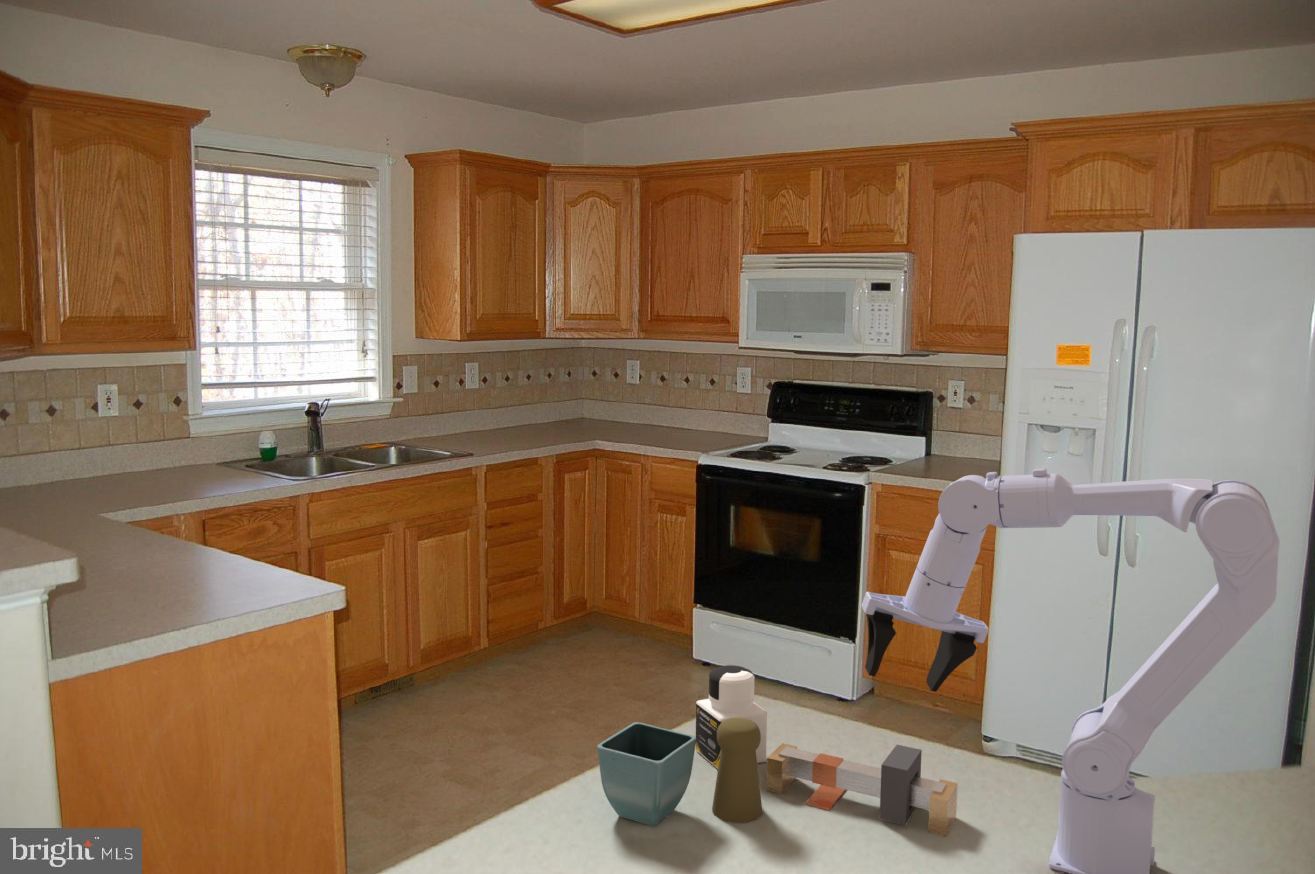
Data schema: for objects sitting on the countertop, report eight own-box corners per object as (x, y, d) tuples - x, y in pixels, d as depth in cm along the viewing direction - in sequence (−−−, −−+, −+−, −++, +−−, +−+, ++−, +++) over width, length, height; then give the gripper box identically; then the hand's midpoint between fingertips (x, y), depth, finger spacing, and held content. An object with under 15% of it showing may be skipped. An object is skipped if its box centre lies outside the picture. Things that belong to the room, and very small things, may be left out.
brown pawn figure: (760, 825, 113) (762, 734, 112) (708, 819, 114) (709, 729, 113) (765, 801, 119) (767, 713, 117) (715, 795, 120) (717, 709, 119)
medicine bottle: (694, 750, 133) (695, 665, 131) (740, 741, 136) (741, 658, 134) (719, 772, 126) (721, 682, 125) (767, 762, 129) (769, 674, 128)
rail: (958, 813, 116) (959, 776, 115) (944, 840, 110) (945, 801, 109) (784, 771, 127) (785, 737, 126) (763, 793, 121) (764, 757, 120)
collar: (919, 802, 118) (921, 749, 117) (905, 825, 112) (907, 770, 112) (894, 796, 119) (896, 744, 119) (879, 818, 114) (881, 764, 113)
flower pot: (634, 789, 121) (635, 719, 120) (697, 807, 117) (698, 735, 116) (594, 819, 114) (594, 745, 113) (659, 840, 109) (660, 763, 108)
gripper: (987, 576, 115) (947, 676, 119) (872, 546, 114) (835, 648, 117) (1010, 603, 109) (966, 707, 112) (888, 571, 107) (847, 678, 111)
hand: (900, 679), depth 114 cm, fingers open, 7 cm apart
